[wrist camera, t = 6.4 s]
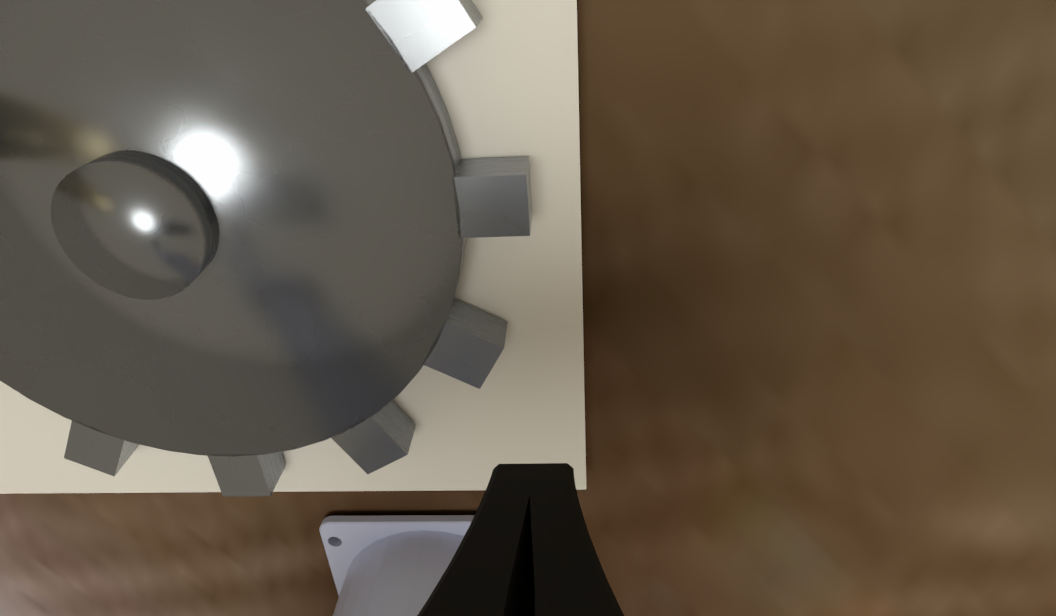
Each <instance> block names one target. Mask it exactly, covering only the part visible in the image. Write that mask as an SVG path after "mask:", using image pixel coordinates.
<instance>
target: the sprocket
mask: <svg viewBox="0 0 1056 616" xmlns="http://www.w3.org/2000/svg"><path fill="white" fill-rule="evenodd" d="M482 18H483V17H482V16H481V14H480V13H479V11H478V10H477V8H476V6H475V5H474V3H473V2H472V0H0V381H1V382H3V383H4V384H6V385H8V386H9V387H11V388H12V389H14V390H16V391H17V392H19V393H20V394H22V395H24V396H25V397H27V398H28V399H30V400H32V401H34V402H36V403H38V404H39V405H41V406H43V407H45V408H47V409H49V410H51V411H53V412H55V413H57V414H59V415H61V416H62V417H65V418H67V419H69V420H72V422H71V427H70V431H69V436H68V441H67V446H66V450H65V455H64V458H65V459H67V460H70V461H73V462H76V463H78V464H81V465H84V466H87V467H89V468H92V469H95V470H98V471H100V472H103V473H106V474H109V475H111V476H114V477H115V475H116V474H117V473H118V471H119V470H120V469H121V468H122V466H123V465H124V464H125V462H126V461H127V460H128V459H129V457H130V456H131V455H132V454H133V452H134V451H135V450H136V448H137V447H138V444H140V445H144V446H148V447H153V448H157V449H161V450H166V451H173V452H180V453H187V454H194V455H206V456H208V458H209V461H210V464H211V466H212V469H213V471H214V474H215V477H216V479H217V482H218V485H219V487H220V490H221V493H222V495H223V496H271V494H272V492H273V490H274V488H275V486H276V484H277V482H278V480H279V478H280V476H281V474H282V472H283V470H284V468H285V466H286V465H285V462H284V459H283V455H282V451H288V450H294V449H298V448H301V447H305V446H308V445H311V444H315V443H318V442H321V441H325V440H327V439H329V438H332V439H333V440H334V441H335V442H336V443H337V444H338V445H339V446H340V447H341V448H342V449H343V450H344V451H345V452H346V453H347V454H348V455H349V456H350V457H351V458H352V459H353V460H354V461H355V462H356V463H357V464H358V465H359V466H360V467H361V468H362V469H363V470H364V471H365V472H366V473H367V474H370V473H372V472H374V471H376V470H378V469H380V468H382V467H384V466H386V465H388V464H390V463H392V462H394V461H396V460H398V459H400V458H402V457H404V456H406V455H408V452H409V448H410V445H411V441H412V438H413V434H414V431H415V427H416V425H415V424H414V422H413V421H412V420H411V419H410V418H409V417H408V416H407V415H406V414H405V413H404V411H403V410H402V409H401V408H400V407H399V406H398V405H397V404H396V403H395V402H394V401H393V399H394V398H395V397H397V396H398V395H399V394H400V393H401V392H402V391H403V390H404V388H405V387H406V386H407V385H408V384H409V383H410V382H411V380H412V379H413V378H414V377H415V376H416V375H417V374H418V372H419V371H420V370H421V368H422V367H423V365H425V366H427V367H430V368H432V369H434V370H437V371H439V372H441V373H444V374H446V375H448V376H450V377H453V378H455V379H457V380H460V381H462V382H464V383H467V384H469V385H471V386H474V387H476V388H478V389H480V388H481V386H482V385H483V383H484V381H485V380H486V378H487V376H488V375H489V373H490V371H491V369H492V368H493V366H494V364H495V363H496V361H497V359H498V358H499V356H500V354H501V353H502V351H503V349H504V345H505V338H506V331H507V324H508V322H507V321H505V320H503V319H501V318H498V317H496V316H494V315H492V314H490V313H487V312H485V311H483V310H481V309H478V308H476V307H474V306H472V305H470V304H467V303H465V302H463V301H461V300H459V299H456V298H454V296H455V293H456V289H457V285H458V281H459V277H460V274H461V270H462V266H463V262H464V257H465V248H466V238H479V237H510V236H530V232H531V222H532V199H531V181H530V163H529V156H522V157H496V158H471V159H461V153H460V148H459V145H458V142H457V139H456V136H455V132H454V129H453V126H452V123H451V120H450V116H449V113H448V110H447V108H446V105H445V103H444V101H443V99H442V97H441V94H440V92H439V90H438V88H437V86H436V83H435V81H434V79H433V77H432V75H431V72H430V70H429V68H428V67H427V65H426V63H427V62H428V61H429V60H431V59H432V58H434V57H435V56H436V55H438V54H439V53H441V52H442V51H443V50H445V49H446V48H448V47H449V46H450V45H452V44H453V43H455V42H456V41H458V40H459V39H460V38H462V37H463V36H465V35H466V34H467V33H469V32H470V31H472V30H473V29H474V28H476V27H477V25H478V24H479V23H480V21H481V20H482Z"/></svg>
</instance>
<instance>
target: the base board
mask: <svg viewBox="0 0 1056 616" xmlns="http://www.w3.org/2000/svg"><path fill="white" fill-rule="evenodd" d="M472 2H473V3H474V5H475V6H476V8H477V10H478V11H479V13H480V14H481V16H482V17H483V18H482V20H481V21H480V23H479V24H478V25H477V27H476V28H474V29H473V30H472V31H470V32H469V33H467V34H466V35H465V36H463V37H462V38H460V39H459V40H458V41H456V42H455V43H453V44H452V45H450V46H449V47H448V48H446V49H445V50H443V51H442V52H441V53H439V54H438V55H436V56H435V57H434V58H432V59H431V60H429V61H428V62H427V63H426V65H427V67H428V68H429V70H430V72H431V75H432V77H433V79H434V81H435V83H436V86H437V88H438V90H439V92H440V94H441V97H442V99H443V101H444V103H445V105H446V108H447V110H448V113H449V116H450V120H451V123H452V126H453V129H454V132H455V136H456V139H457V142H458V145H459V148H460V153H461V159H471V158H496V157H522V156H529V163H530V181H531V199H532V222H531V232H530V236H510V237H479V238H466V248H465V257H464V262H463V266H462V270H461V274H460V277H459V281H458V285H457V289H456V293H455V296H454V298H456V299H459V300H461V301H463V302H465V303H467V304H470V305H472V306H474V307H476V308H478V309H481V310H483V311H485V312H487V313H490V314H492V315H494V316H496V317H498V318H501V319H503V320H505V321H507V322H508V324H507V331H506V338H505V345H504V349H503V351H502V353H501V354H500V356H499V358H498V359H497V361H496V363H495V364H494V366H493V368H492V369H491V371H490V373H489V375H488V376H487V378H486V380H485V381H484V383H483V385H482V386H481V388H480V389H478V388H476V387H474V386H471V385H469V384H467V383H464V382H462V381H460V380H457V379H455V378H453V377H450V376H448V375H446V374H444V373H441V372H439V371H437V370H434V369H432V368H430V367H427V366H425V365H423V367H422V368H421V370H420V371H419V372H418V374H417V375H416V376H415V377H414V378H413V379H412V380H411V382H410V383H409V384H408V385H407V386H406V387H405V388H404V390H403V391H402V392H401V393H400V394H399V395H398V396H397V397H395V398H394V399H393V401H394V402H395V403H396V404H397V405H398V406H399V407H400V408H401V409H402V410H403V411H404V413H405V414H406V415H407V416H408V417H409V418H410V419H411V420H412V421H413V422H414V424H415V425H416V427H415V431H414V434H413V438H412V441H411V445H410V448H409V452H408V455H406V456H404V457H402V458H400V459H398V460H396V461H394V462H392V463H390V464H388V465H386V466H384V467H382V468H380V469H378V470H376V471H374V472H372V473H370V474H367V473H366V472H365V471H364V470H363V469H362V468H361V467H360V466H359V465H358V464H357V463H356V462H355V461H354V460H353V459H352V458H351V457H350V456H349V455H348V454H347V453H346V452H345V451H344V450H343V449H342V448H341V447H340V446H339V445H338V444H337V443H336V442H335V441H334V440H333V439H332V438H329V439H327V440H325V441H321V442H318V443H315V444H311V445H308V446H305V447H301V448H298V449H294V450H288V451H282V455H283V459H284V462H285V465H286V466H285V468H284V470H283V472H282V474H281V476H280V478H279V480H278V482H277V484H276V486H275V488H274V490H273V492H297V491H443V490H486V488H487V486H488V483H489V481H490V478H491V475H492V472H493V469H494V468H495V467H496V466H497V465H499V464H537V463H568V464H569V465H570V466H571V467H573V468H574V480H575V486H576V490H586V444H585V393H584V342H583V292H582V241H581V190H580V139H579V88H578V37H577V0H472ZM71 422H72V420H69V419H67V418H65V417H62V416H61V415H59V414H57V413H55V412H53V411H51V410H49V409H47V408H45V407H43V406H41V405H39V404H38V403H36V402H34V401H32V400H30V399H28V398H27V397H25V396H24V395H22V394H20V393H19V392H17V391H16V390H14V389H12V388H11V387H9V386H8V385H6V384H4V383H3V382H1V381H0V494H5V493H151V492H221V490H220V487H219V485H218V482H217V479H216V477H215V474H214V471H213V469H212V466H211V464H210V461H209V458H208V456H206V455H194V454H187V453H180V452H173V451H166V450H161V449H157V448H153V447H148V446H144V445H140V444H138V447H137V448H136V450H135V451H134V452H133V454H132V455H131V456H130V457H129V459H128V460H127V461H126V462H125V464H124V465H123V466H122V468H121V469H120V470H119V471H118V473H117V474H116V475H115V477H114V476H111V475H109V474H106V473H103V472H100V471H98V470H95V469H92V468H89V467H87V466H84V465H81V464H78V463H76V462H73V461H70V460H67V459H65V458H64V455H65V450H66V446H67V441H68V436H69V431H70V427H71Z"/></svg>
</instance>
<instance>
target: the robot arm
mask: <svg viewBox="0 0 1056 616" xmlns="http://www.w3.org/2000/svg"><path fill="white" fill-rule="evenodd" d="M320 535H321V538H322V541H323V545H324V548H325V552H326V555H327V558H328V562H329V565H330V569H331V572H332V575H333V579H334V582H335V586H336V589H337V592H338V596H339V598H338V601H337V604H336V607H335V610H334V613H333V616H624V615H623V613H622V611H621V609H620V607H619V604H618V602H617V600H616V598H615V596H614V594H613V592H612V589H611V587H610V585H609V583H608V581H607V578H606V576H605V574H604V571H603V569H602V567H601V564H600V562H599V559H598V556H597V554H596V551H595V549H594V546H593V544H592V541H591V538H590V536H589V533H588V530H587V527H586V524H585V521H584V517H583V514H582V511H581V507H580V504H579V500H578V496H577V491H576V486H575V480H574V468H573V467H571V466H570V465H569V464H568V463H537V464H499V465H497V466H496V467H495V468H494V469H493V472H492V475H491V478H490V481H489V483H488V486H487V488H486V491H485V493H484V496H483V498H482V500H481V503H480V505H479V507H478V509H477V511H476V514H475V515H381V516H328V517H326V518H324V519H323V521H322V523H321V525H320ZM335 537H337V538H335Z"/></svg>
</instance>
